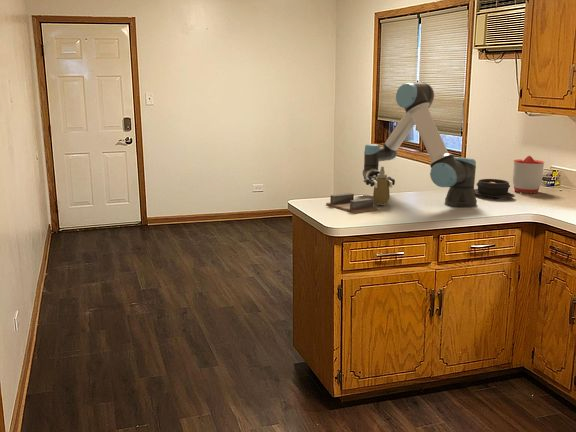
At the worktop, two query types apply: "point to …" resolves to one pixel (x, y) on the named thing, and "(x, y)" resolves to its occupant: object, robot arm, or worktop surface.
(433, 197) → the worktop surface
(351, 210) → the end cap board
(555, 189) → the worktop surface
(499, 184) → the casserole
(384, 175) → the squeeze bottle
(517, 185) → the citrus juicer
